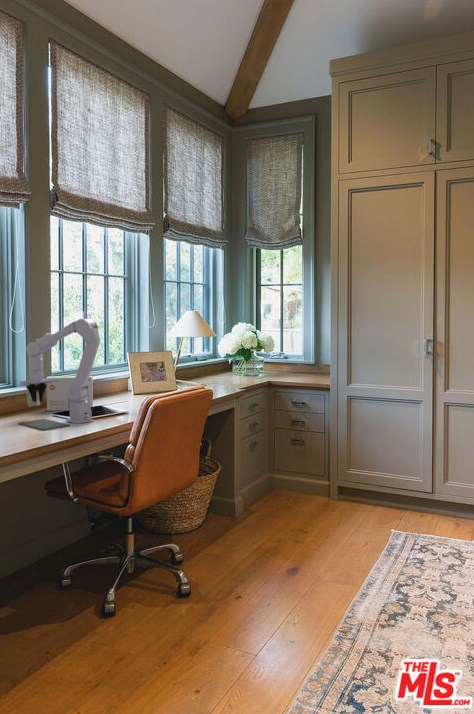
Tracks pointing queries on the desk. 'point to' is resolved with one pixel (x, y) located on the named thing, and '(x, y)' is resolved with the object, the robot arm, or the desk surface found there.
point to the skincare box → (63, 392)
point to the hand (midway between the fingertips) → (37, 401)
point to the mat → (44, 424)
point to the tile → (30, 402)
